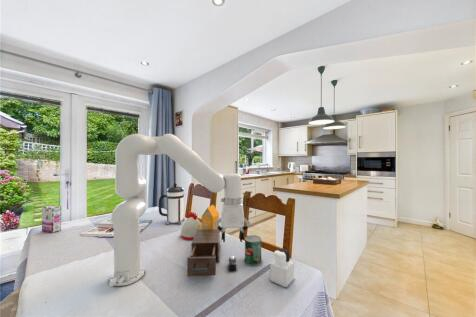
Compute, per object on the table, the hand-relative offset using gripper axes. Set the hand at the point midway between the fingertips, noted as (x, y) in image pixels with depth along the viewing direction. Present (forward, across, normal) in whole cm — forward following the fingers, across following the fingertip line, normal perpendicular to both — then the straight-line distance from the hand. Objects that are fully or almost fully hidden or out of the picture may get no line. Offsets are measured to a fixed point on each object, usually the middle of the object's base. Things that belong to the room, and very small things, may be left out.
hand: (232, 240), depth 89 cm
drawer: (+12, -13, 0) cm, 18 cm away
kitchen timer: (+13, -25, +39) cm, 48 cm away
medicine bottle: (+13, +20, -9) cm, 25 cm away
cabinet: (+13, -13, +15) cm, 24 cm away
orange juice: (+13, -13, +34) cm, 39 cm away
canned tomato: (+13, +10, +6) cm, 17 cm away
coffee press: (+13, -44, +65) cm, 80 cm away
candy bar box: (+13, -122, +51) cm, 133 cm away
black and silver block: (+13, 0, +2) cm, 13 cm away
